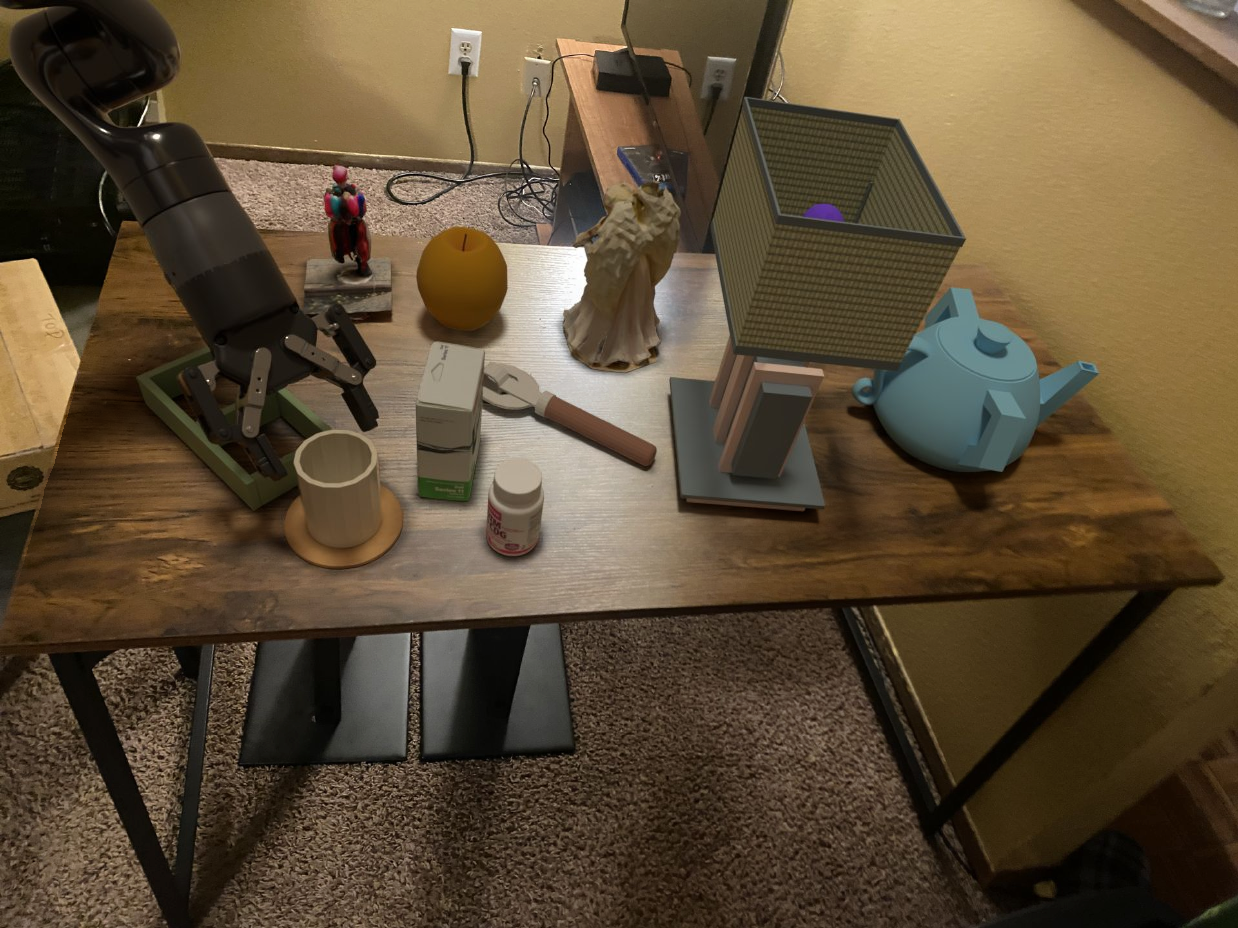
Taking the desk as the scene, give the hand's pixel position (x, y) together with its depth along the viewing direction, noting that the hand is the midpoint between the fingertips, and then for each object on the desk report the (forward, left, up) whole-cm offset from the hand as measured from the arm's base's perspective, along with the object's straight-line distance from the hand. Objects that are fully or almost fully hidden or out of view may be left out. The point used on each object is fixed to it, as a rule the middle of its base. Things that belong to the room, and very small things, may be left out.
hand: (327, 453), depth 68 cm
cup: (0, -1, -8) cm, 8 cm away
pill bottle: (+13, -8, -9) cm, 18 cm away
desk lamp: (+39, -7, -9) cm, 41 cm away
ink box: (+11, +2, -9) cm, 14 cm away
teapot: (+65, -12, -9) cm, 67 cm away
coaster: (0, -1, -8) cm, 8 cm away
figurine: (+35, +14, -9) cm, 39 cm away
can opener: (+24, +4, -9) cm, 26 cm away
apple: (+20, +22, -9) cm, 31 cm away
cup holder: (-5, +13, -8) cm, 16 cm away
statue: (+10, +31, -9) cm, 34 cm away
